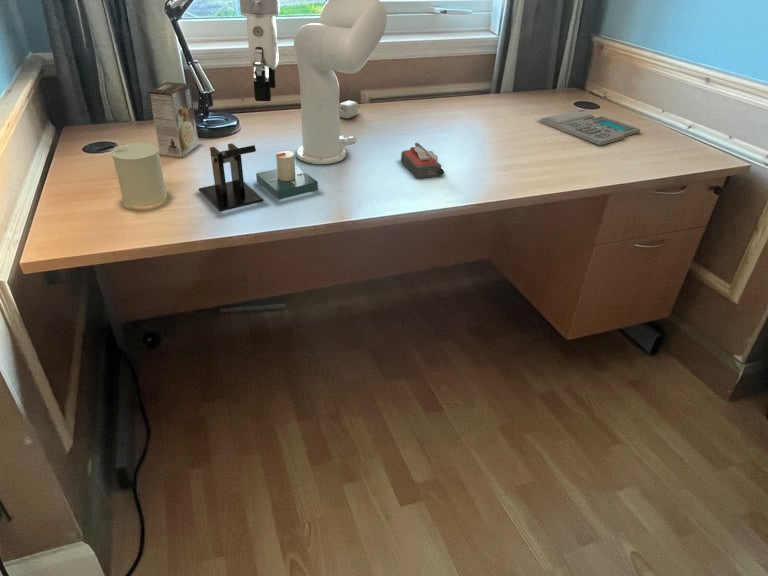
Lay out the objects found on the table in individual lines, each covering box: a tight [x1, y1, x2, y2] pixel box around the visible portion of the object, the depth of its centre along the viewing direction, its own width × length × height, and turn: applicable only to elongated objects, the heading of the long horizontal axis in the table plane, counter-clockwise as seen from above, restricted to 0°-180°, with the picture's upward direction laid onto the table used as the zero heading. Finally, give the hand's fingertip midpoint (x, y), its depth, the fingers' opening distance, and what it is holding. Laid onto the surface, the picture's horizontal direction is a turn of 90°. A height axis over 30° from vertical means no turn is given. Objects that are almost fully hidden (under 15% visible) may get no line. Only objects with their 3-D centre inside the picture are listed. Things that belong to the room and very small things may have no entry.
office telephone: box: [540, 109, 641, 146], centre depth 177 cm, size 23×3×20 cm
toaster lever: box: [220, 144, 257, 165], centre depth 119 cm, size 12×6×2 cm, turn 35°
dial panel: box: [255, 164, 319, 201], centre depth 133 cm, size 10×11×3 cm
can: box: [111, 142, 168, 211], centre depth 123 cm, size 9×9×12 cm
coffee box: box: [148, 81, 200, 158], centre depth 146 cm, size 9×6×16 cm
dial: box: [275, 150, 296, 181], centre depth 131 cm, size 4×4×6 cm
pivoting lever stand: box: [198, 142, 264, 213], centre depth 125 cm, size 12×10×12 cm
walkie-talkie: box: [400, 142, 445, 179], centre depth 148 cm, size 9×4×20 cm
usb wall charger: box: [339, 99, 361, 119], centre depth 178 cm, size 4×7×4 cm, turn 145°
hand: (265, 93), depth 124 cm, fingers open, 9 cm apart
